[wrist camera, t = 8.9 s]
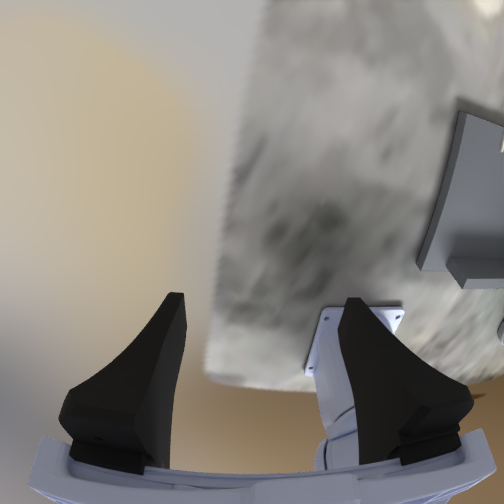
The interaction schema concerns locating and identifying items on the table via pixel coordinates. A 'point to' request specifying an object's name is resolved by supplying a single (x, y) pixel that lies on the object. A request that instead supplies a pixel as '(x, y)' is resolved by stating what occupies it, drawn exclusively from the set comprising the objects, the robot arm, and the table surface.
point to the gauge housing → (470, 209)
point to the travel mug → (501, 333)
